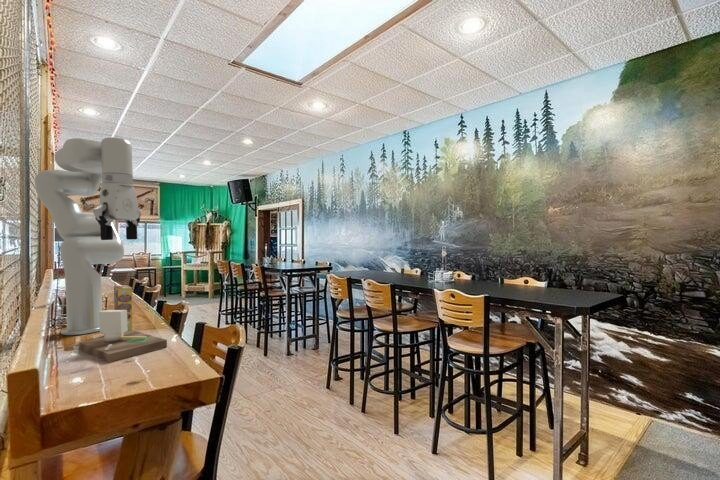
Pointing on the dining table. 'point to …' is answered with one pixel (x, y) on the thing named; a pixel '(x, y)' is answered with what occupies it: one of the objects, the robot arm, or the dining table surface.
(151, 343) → the dial board
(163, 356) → the dining table surface
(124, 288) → the candy box
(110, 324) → the white block on stick
